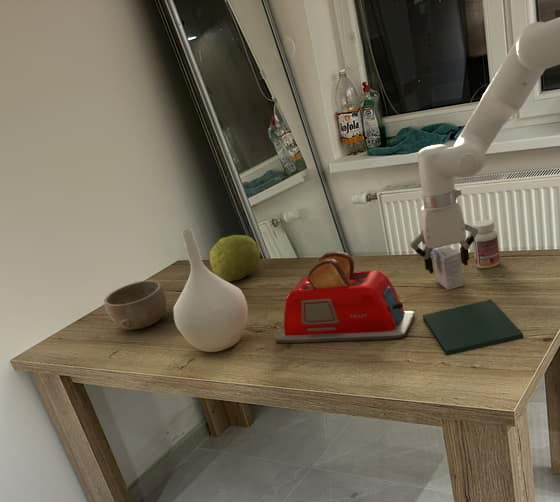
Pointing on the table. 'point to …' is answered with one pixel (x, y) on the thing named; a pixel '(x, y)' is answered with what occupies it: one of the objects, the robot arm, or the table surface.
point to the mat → (471, 327)
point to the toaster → (343, 305)
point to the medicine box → (447, 267)
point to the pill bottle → (486, 244)
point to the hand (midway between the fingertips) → (447, 267)
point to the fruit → (234, 257)
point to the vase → (208, 306)
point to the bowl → (136, 304)
